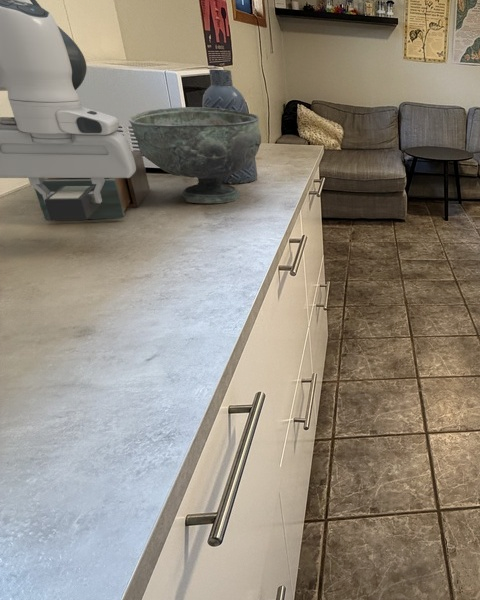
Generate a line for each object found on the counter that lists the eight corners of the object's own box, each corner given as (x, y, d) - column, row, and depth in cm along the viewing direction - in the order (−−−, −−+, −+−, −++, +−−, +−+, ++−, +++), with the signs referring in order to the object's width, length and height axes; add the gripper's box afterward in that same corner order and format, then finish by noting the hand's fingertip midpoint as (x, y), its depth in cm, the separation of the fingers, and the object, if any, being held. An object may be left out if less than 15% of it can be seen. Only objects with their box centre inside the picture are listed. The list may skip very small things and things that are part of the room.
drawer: (122, 219, 97) (113, 181, 93) (43, 222, 92) (29, 182, 89) (137, 198, 110) (129, 164, 106) (68, 200, 105) (57, 165, 102)
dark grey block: (50, 220, 78) (43, 198, 76) (68, 205, 85) (62, 185, 84) (86, 219, 80) (80, 198, 78) (100, 204, 87) (95, 185, 86)
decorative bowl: (273, 182, 132) (262, 106, 122) (266, 211, 111) (252, 122, 101) (169, 186, 126) (148, 106, 116) (140, 217, 104) (112, 122, 95)
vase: (255, 184, 131) (241, 72, 118) (207, 184, 128) (188, 69, 115) (260, 174, 142) (248, 70, 129) (216, 173, 139) (199, 67, 126)
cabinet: (138, 207, 107) (127, 164, 103) (60, 210, 102) (45, 165, 98) (150, 189, 120) (141, 151, 115) (81, 191, 115) (69, 150, 110)
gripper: (-43, 118, 70) (-10, 209, 76) (119, 123, 76) (138, 206, 83) (-23, 113, 75) (7, 198, 81) (128, 118, 82) (145, 197, 88)
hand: (74, 202), depth 82 cm, fingers closed on dark grey block, 5 cm apart
